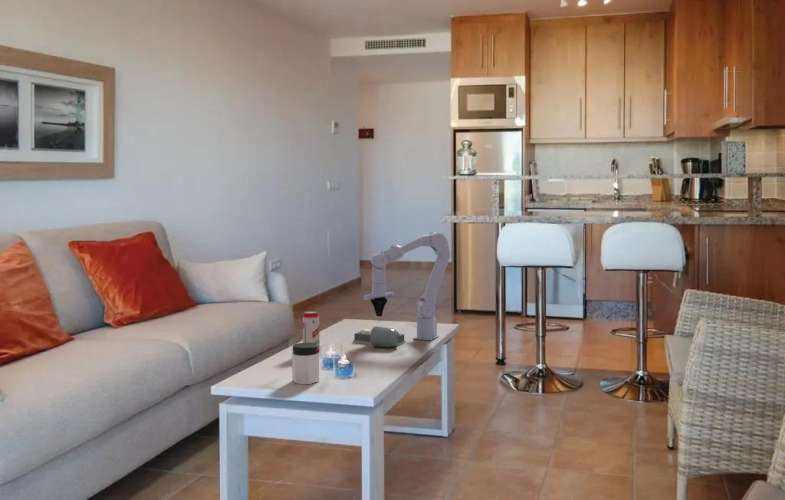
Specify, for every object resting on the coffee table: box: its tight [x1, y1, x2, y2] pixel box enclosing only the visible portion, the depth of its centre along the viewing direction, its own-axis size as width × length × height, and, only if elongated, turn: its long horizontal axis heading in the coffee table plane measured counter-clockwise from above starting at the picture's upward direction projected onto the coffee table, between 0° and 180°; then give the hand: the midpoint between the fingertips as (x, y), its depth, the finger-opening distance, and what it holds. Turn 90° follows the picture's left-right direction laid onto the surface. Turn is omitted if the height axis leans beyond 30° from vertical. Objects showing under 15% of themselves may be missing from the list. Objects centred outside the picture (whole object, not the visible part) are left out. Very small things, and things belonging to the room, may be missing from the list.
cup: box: [370, 326, 400, 348], centre depth 307 cm, size 8×8×10 cm
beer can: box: [302, 310, 321, 354], centre depth 295 cm, size 6×6×16 cm
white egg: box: [360, 328, 372, 334], centre depth 319 cm, size 4×4×3 cm
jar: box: [291, 342, 320, 385], centre depth 255 cm, size 9×8×12 cm
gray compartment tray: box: [352, 330, 407, 347], centre depth 317 cm, size 8×20×3 cm, turn 65°
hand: (379, 316), depth 321 cm, fingers closed
